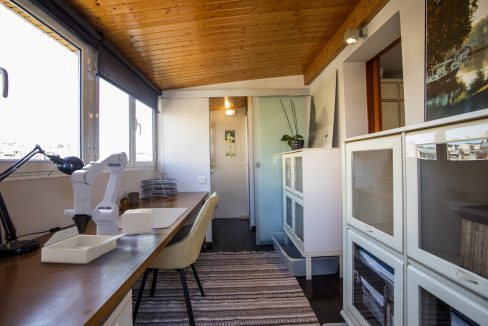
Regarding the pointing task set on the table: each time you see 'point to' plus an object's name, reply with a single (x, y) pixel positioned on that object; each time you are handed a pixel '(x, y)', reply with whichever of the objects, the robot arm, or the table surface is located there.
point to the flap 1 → (62, 235)
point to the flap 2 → (110, 240)
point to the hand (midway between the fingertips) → (82, 232)
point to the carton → (77, 249)
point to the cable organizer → (137, 221)
